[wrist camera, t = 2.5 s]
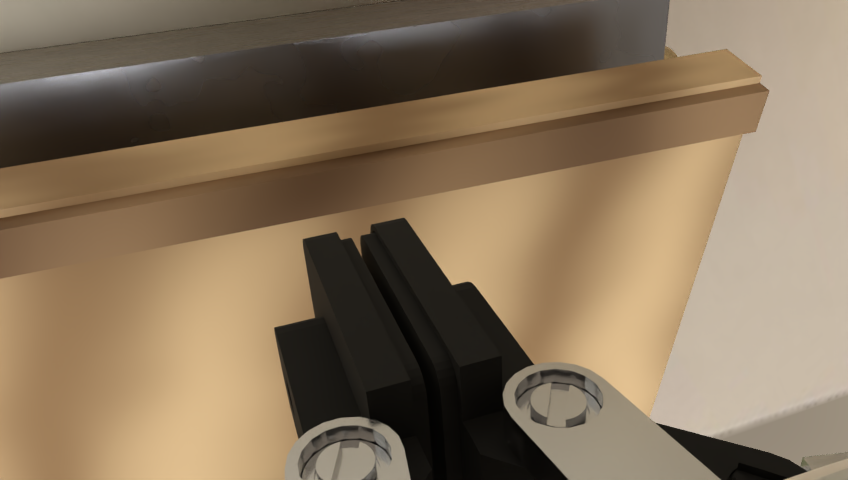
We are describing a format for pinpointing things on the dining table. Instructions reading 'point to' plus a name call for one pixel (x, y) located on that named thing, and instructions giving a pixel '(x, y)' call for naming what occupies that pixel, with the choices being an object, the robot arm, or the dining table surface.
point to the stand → (304, 68)
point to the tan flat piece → (352, 217)
